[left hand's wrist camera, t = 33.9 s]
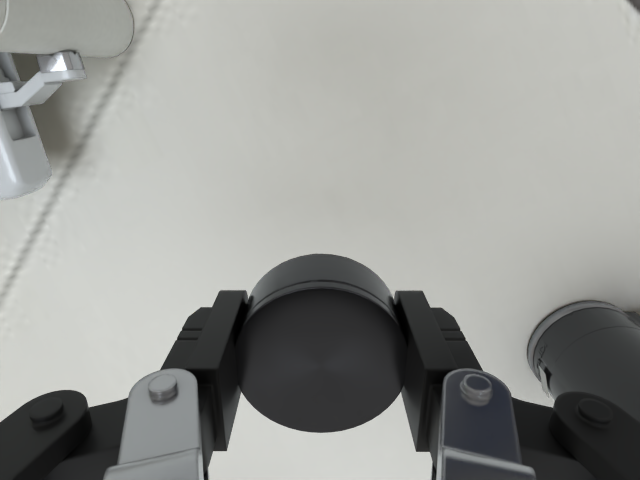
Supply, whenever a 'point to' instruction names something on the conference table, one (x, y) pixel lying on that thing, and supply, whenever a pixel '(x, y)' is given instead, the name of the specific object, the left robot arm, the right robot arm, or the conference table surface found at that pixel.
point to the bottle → (66, 27)
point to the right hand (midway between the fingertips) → (61, 6)
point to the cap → (321, 345)
